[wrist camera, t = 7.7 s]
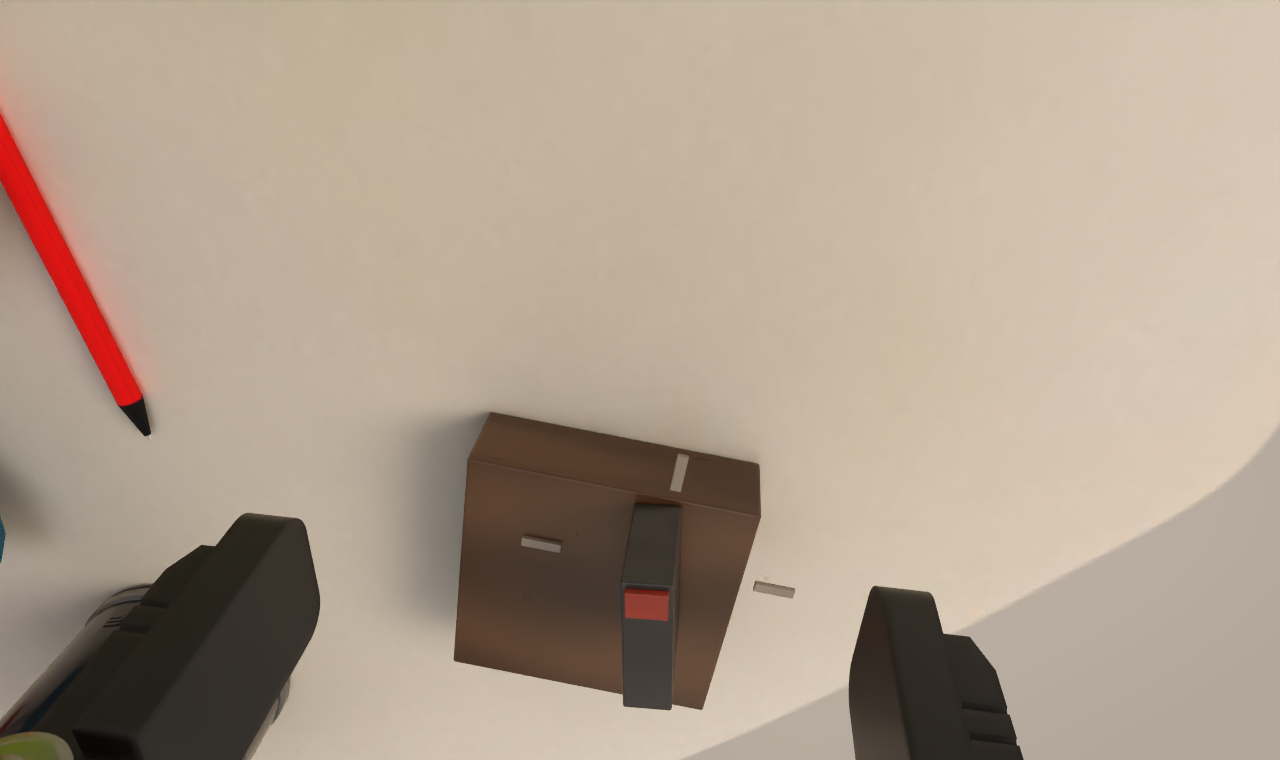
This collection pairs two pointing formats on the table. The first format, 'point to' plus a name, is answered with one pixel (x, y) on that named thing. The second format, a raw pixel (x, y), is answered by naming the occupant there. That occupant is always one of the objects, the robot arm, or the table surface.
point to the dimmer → (593, 551)
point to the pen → (69, 280)
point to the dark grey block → (651, 606)
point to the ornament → (1, 539)
